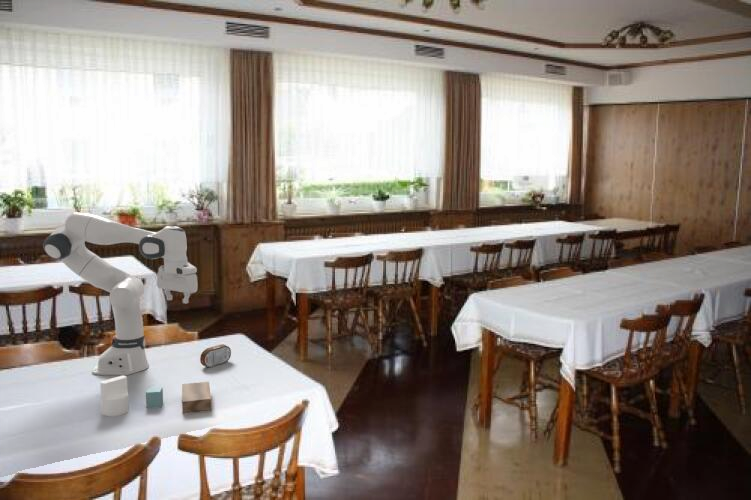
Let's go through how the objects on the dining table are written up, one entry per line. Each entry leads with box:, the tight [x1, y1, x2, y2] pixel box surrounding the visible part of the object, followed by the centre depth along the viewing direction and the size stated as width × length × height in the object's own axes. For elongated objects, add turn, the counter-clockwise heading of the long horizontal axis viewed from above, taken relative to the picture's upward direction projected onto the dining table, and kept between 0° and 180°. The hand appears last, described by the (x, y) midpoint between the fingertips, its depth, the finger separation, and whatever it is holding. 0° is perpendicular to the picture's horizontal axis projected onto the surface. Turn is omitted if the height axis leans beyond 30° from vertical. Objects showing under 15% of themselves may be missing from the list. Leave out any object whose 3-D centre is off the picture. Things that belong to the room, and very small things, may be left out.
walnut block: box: [181, 381, 212, 415], centre depth 235 cm, size 10×18×5 cm, turn 17°
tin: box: [199, 344, 232, 368], centre depth 277 cm, size 15×3×8 cm, turn 141°
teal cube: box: [145, 386, 164, 409], centre depth 233 cm, size 5×5×6 cm
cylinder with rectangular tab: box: [99, 375, 130, 417], centre depth 227 cm, size 9×9×12 cm
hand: (177, 301), depth 249 cm, fingers open, 8 cm apart
